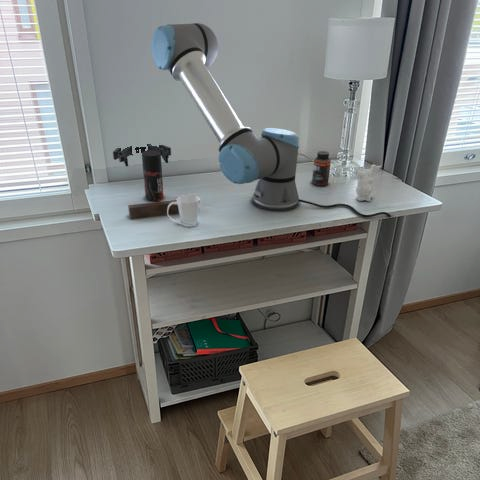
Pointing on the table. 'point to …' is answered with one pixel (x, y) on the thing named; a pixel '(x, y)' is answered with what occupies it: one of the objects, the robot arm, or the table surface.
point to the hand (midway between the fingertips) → (147, 160)
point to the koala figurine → (366, 182)
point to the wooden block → (152, 209)
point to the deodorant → (152, 175)
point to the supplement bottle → (321, 169)
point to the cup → (187, 209)
